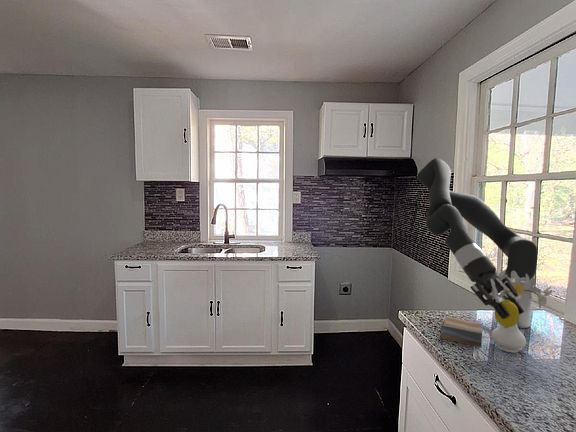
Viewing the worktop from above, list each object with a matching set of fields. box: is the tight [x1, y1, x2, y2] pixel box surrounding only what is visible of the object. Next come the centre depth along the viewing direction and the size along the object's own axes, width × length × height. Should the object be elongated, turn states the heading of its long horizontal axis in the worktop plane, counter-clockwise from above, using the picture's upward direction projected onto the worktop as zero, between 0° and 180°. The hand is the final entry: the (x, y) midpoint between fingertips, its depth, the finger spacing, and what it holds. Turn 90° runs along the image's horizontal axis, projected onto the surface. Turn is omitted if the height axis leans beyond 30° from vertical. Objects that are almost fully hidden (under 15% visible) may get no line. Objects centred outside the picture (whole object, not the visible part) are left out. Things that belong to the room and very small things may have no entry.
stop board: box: [440, 316, 483, 348], centre depth 118 cm, size 18×12×4 cm, turn 150°
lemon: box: [494, 300, 519, 328], centre depth 90 cm, size 6×6×8 cm
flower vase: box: [491, 269, 553, 354], centre depth 105 cm, size 13×18×25 cm
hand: (513, 315), depth 88 cm, fingers closed on lemon, 5 cm apart
